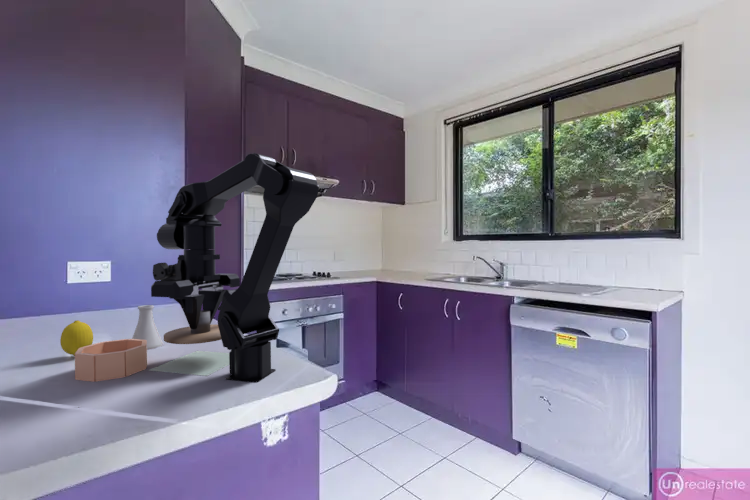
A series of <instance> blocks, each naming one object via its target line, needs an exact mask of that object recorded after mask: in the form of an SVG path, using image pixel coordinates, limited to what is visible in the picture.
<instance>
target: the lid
mask: <svg viewBox="0 0 750 500" xmlns="http://www.w3.org/2000/svg"><path fill="white" fill-rule="evenodd" d="M220 340H221V341H222V339H221V335H220V331H219V327H218V323H217V324H210V311H209V310H203V309H201V312H200V317H199V322H198V325H197V328H196V329H191V328H190V326H185V327H181V328H180V327H179V328H176V329H171V330H169V331H168V332H166V333H164V334H163V341H164V342H165V343H168V344H173V345H198V344H205V343H210V342H218V341H220Z"/></svg>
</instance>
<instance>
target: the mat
mask: <svg viewBox="0 0 750 500" xmlns="http://www.w3.org/2000/svg"><path fill="white" fill-rule="evenodd" d="M227 366H229V352H219V351H205V350H196V351H193V352H190V353H188V354H186V355H182V356H181V357H178V358H176V359H173V360H170V361H168V362H164V363H163V364H160V365H158V366H155V367H153V368H150V369H148V371H150V372H163V373H170V374H172V373H173V374H180V375H181V374H182V375H192V376H193V375H194V376H200V377H201V376H202V377H204V376H205V377H208V376H210V375H212V374H214V373H216V372H218V371H220V370H221V369H224V368H225V367H227Z"/></svg>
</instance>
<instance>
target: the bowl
mask: <svg viewBox="0 0 750 500" xmlns="http://www.w3.org/2000/svg"><path fill="white" fill-rule="evenodd" d="M147 368H148V350H147V340H141V339H132V338H125V339H124V338H122V339H115V340H107V341H100V342H96V343H92V345H88V346H84V347H81V348H79V349H78V350H77V351H76V353H75V356H74V378H75V379H74V380H76V381H84V382H102V381H109V380H114V379H120V378H121V379H122V378H126V377H129V376H132V375H134V374H136V373H139V372H141V371H144V370H146V369H147Z"/></svg>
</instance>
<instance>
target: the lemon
mask: <svg viewBox="0 0 750 500" xmlns="http://www.w3.org/2000/svg"><path fill="white" fill-rule="evenodd" d="M59 340H60V347H61V349H62V351H64V352H65V353H66V354H68V355H71V356H73V357H75V353H76V351H77V350H78V349H79V348H81V347H84V346H88V345H92V344H94V343H93V341H94V333H93V329H92V328H91V326H90V325H89V324H87V323H86V322H83V321H81V320H74V321H73V322H71V323H69V324H68V325H66V326H65V327H64V328H63V330H62V331H61V334H60V339H59Z"/></svg>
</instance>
